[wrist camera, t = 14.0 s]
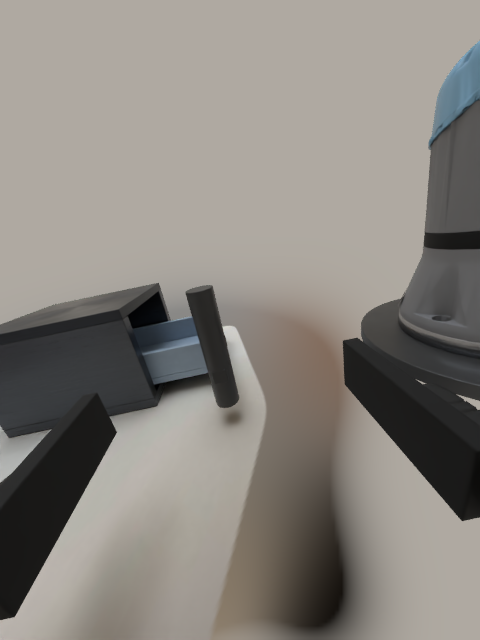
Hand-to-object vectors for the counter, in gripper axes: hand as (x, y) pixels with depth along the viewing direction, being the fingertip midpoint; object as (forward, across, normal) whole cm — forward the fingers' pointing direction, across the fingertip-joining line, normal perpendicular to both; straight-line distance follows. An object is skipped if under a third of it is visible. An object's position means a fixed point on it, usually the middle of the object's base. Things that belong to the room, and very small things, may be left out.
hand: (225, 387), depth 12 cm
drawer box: (+17, -17, -8) cm, 25 cm away
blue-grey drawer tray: (+14, -8, -6) cm, 17 cm away
